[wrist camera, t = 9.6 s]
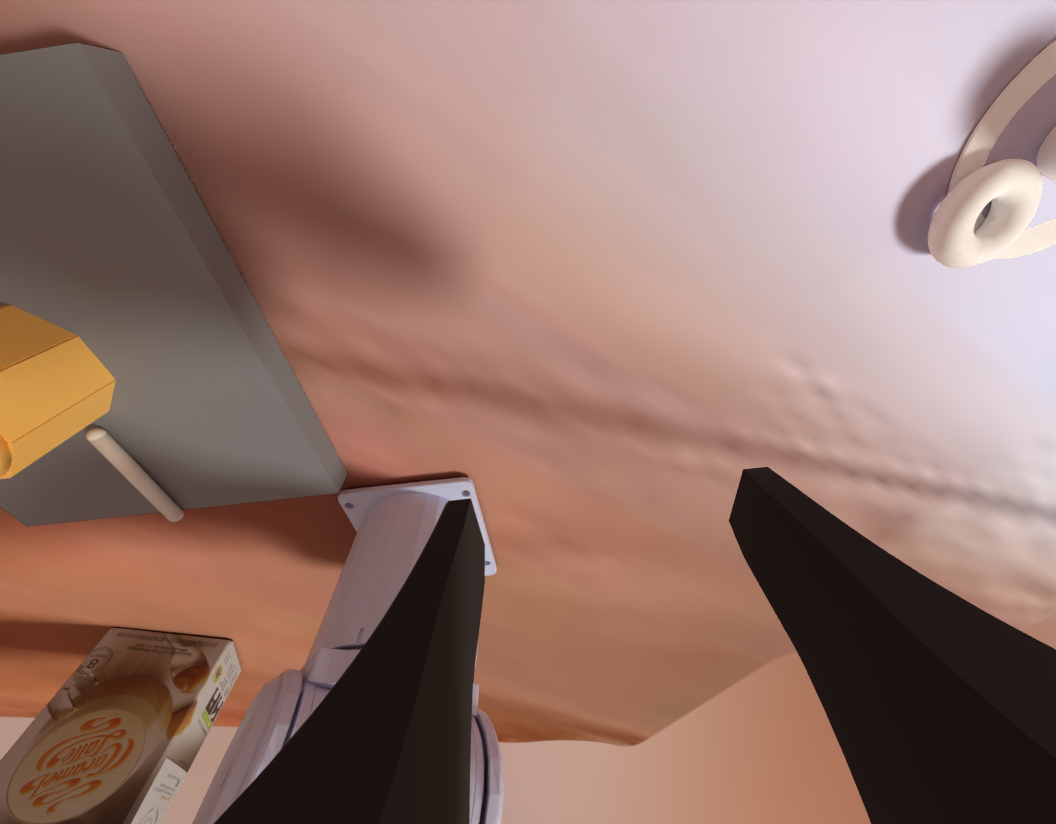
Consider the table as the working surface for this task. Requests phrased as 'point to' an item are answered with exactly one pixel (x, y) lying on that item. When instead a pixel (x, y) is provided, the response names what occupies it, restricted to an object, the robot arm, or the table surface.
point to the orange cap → (44, 388)
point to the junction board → (139, 308)
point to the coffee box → (119, 731)
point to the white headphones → (997, 185)
